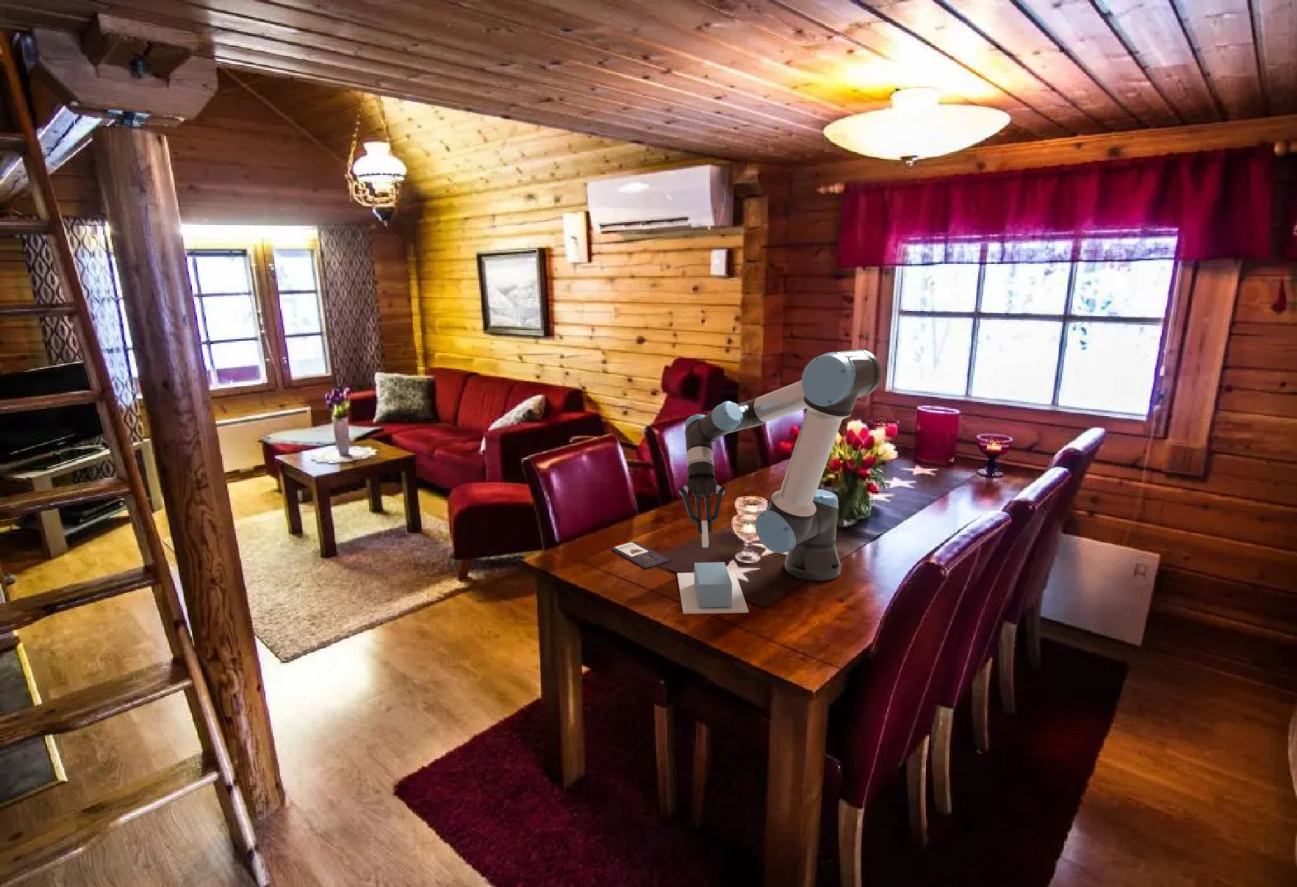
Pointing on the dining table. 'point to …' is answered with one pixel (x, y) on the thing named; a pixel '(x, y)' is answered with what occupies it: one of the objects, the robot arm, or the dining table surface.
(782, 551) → the robot arm
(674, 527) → the dining table surface
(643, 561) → the chocolate bar
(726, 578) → the blue block
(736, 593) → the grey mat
